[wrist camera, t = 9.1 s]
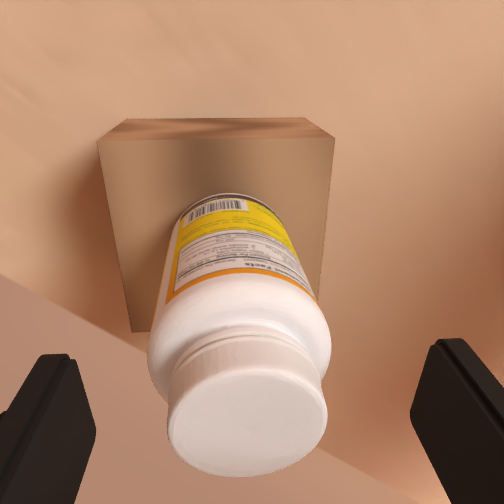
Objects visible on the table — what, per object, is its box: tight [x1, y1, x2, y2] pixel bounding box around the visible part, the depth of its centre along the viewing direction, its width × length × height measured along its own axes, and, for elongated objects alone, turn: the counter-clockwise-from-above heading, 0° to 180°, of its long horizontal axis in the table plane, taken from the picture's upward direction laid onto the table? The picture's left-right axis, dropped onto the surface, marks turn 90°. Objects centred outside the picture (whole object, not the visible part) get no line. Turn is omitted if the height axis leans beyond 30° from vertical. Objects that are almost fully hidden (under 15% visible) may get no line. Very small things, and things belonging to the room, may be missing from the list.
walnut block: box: [97, 118, 335, 333], centre depth 21 cm, size 10×10×6 cm
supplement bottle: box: [147, 193, 331, 478], centre depth 13 cm, size 6×6×10 cm
